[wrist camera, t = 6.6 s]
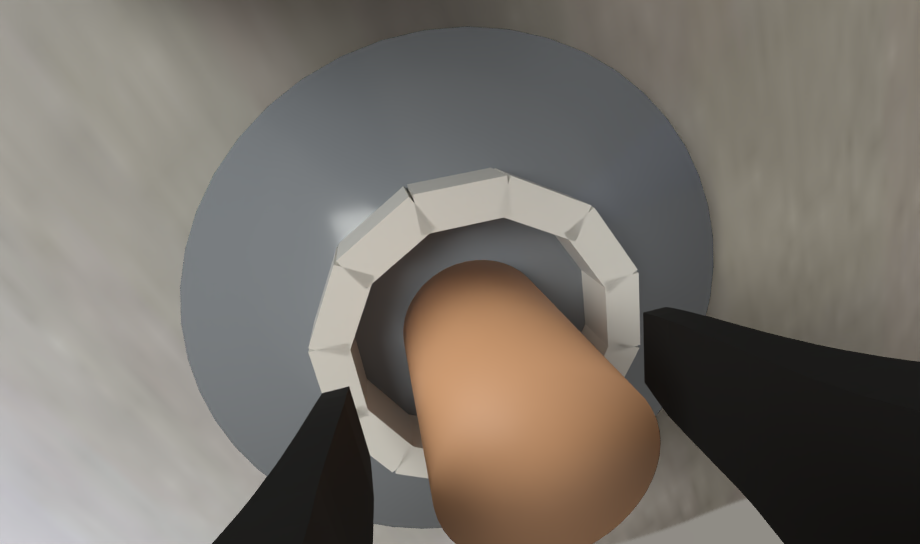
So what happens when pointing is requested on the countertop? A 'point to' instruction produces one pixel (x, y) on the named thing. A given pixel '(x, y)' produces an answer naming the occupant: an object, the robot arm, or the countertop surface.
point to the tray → (429, 231)
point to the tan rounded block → (521, 414)
